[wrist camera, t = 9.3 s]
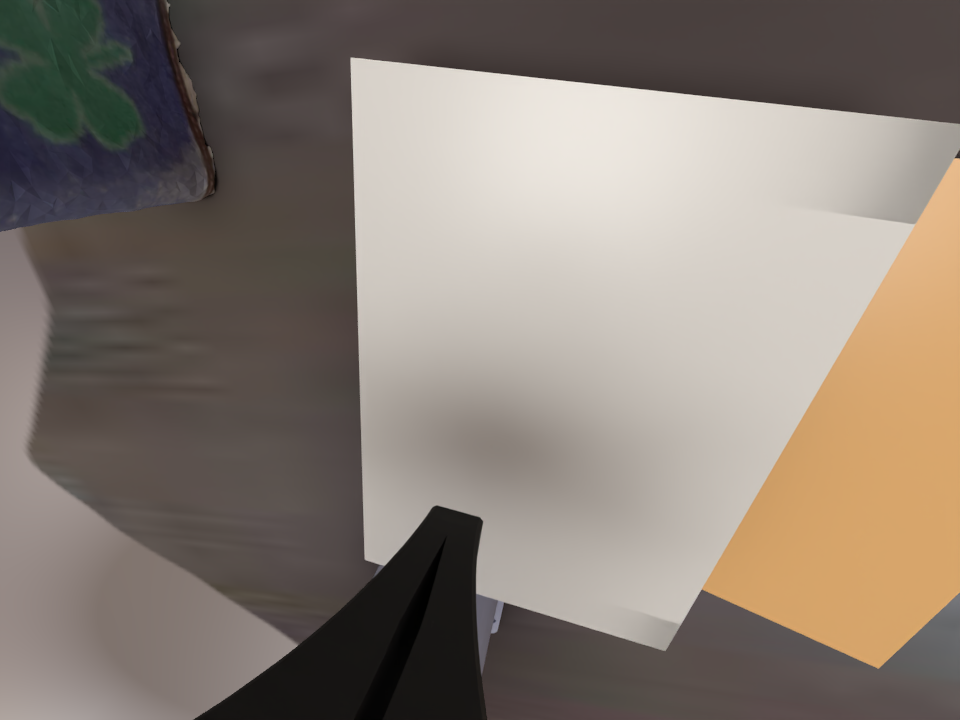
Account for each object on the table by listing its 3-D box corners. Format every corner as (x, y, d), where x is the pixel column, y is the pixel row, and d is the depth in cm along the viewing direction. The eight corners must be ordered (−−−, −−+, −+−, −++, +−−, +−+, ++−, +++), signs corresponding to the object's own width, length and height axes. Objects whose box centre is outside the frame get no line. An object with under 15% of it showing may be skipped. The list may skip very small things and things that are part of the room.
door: (683, 564, 22) (871, 646, 19) (682, 580, 21) (878, 668, 18) (900, 153, 13) (1318, 201, 10) (913, 153, 12) (1370, 205, 9)
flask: (226, 199, 19) (-113, 256, 10) (173, 198, 20) (-191, 251, 11) (152, -78, 15) (-543, -412, 6) (88, -68, 16) (-628, -354, 7)
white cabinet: (652, 553, 23) (665, 650, 19) (404, 486, 25) (364, 559, 21) (850, 129, 13) (973, 125, 9) (420, 79, 15) (350, 57, 11)
